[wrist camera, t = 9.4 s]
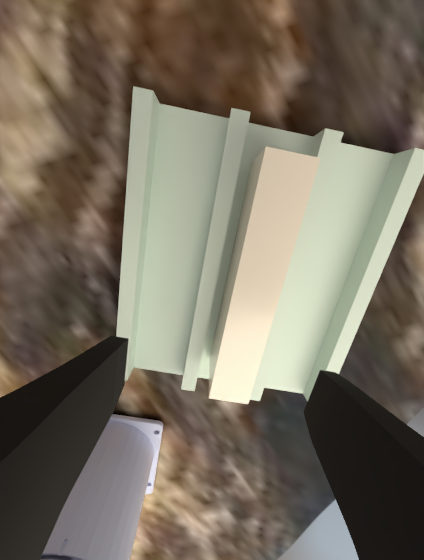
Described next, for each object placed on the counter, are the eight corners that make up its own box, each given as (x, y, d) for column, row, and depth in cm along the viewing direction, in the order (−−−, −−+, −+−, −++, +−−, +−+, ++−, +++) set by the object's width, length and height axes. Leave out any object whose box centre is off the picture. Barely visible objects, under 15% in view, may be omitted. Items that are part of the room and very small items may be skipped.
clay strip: (240, 362, 18) (248, 403, 14) (209, 357, 18) (208, 398, 14) (291, 171, 14) (320, 158, 10) (251, 162, 14) (265, 146, 10)
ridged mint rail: (315, 387, 20) (329, 411, 18) (119, 356, 19) (106, 378, 17) (404, 162, 15) (441, 153, 12) (138, 105, 14) (123, 84, 11)
